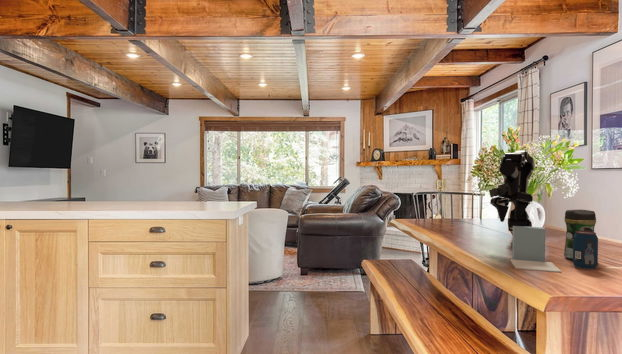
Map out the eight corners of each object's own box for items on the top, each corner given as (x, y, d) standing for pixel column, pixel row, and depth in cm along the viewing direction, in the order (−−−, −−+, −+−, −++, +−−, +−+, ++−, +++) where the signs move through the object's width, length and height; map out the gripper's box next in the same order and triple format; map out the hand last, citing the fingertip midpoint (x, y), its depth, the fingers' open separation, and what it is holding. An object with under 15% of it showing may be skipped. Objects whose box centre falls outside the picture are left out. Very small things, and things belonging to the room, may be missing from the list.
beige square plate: (510, 260, 144) (510, 259, 144) (551, 263, 140) (551, 262, 140) (516, 268, 131) (516, 267, 131) (561, 272, 127) (561, 271, 127)
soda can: (582, 264, 139) (583, 230, 139) (602, 269, 132) (603, 233, 132) (567, 265, 137) (568, 231, 137) (587, 270, 130) (588, 233, 130)
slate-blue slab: (512, 257, 149) (512, 225, 149) (542, 260, 146) (543, 227, 146) (513, 259, 146) (514, 227, 146) (544, 262, 142) (545, 228, 142)
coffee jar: (586, 257, 151) (586, 208, 151) (600, 262, 144) (601, 210, 143) (559, 257, 152) (560, 208, 152) (572, 261, 144) (573, 210, 144)
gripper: (480, 182, 168) (477, 219, 165) (507, 174, 150) (505, 215, 147) (504, 187, 170) (501, 223, 166) (534, 180, 152) (532, 220, 148)
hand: (509, 220), depth 157 cm, fingers open, 9 cm apart
